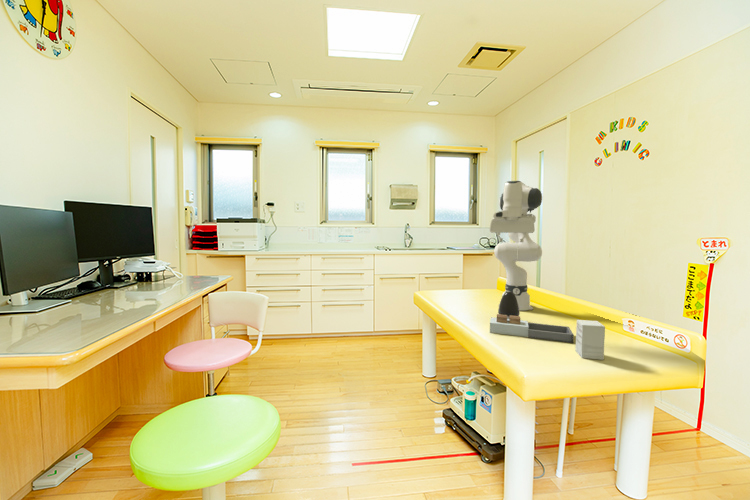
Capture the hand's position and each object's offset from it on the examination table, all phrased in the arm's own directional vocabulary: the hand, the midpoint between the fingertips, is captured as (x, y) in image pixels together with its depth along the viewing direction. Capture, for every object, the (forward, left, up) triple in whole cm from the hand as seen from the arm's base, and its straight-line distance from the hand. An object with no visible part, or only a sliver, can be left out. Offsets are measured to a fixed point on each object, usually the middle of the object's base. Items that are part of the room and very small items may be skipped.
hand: (511, 242), depth 161 cm
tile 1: (+13, -3, -36) cm, 39 cm away
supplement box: (+32, +28, -41) cm, 59 cm away
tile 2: (+13, +3, -36) cm, 39 cm away
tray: (+13, +17, -41) cm, 46 cm away
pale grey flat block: (+13, 0, -41) cm, 43 cm away
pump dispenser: (-6, 0, -41) cm, 41 cm away
